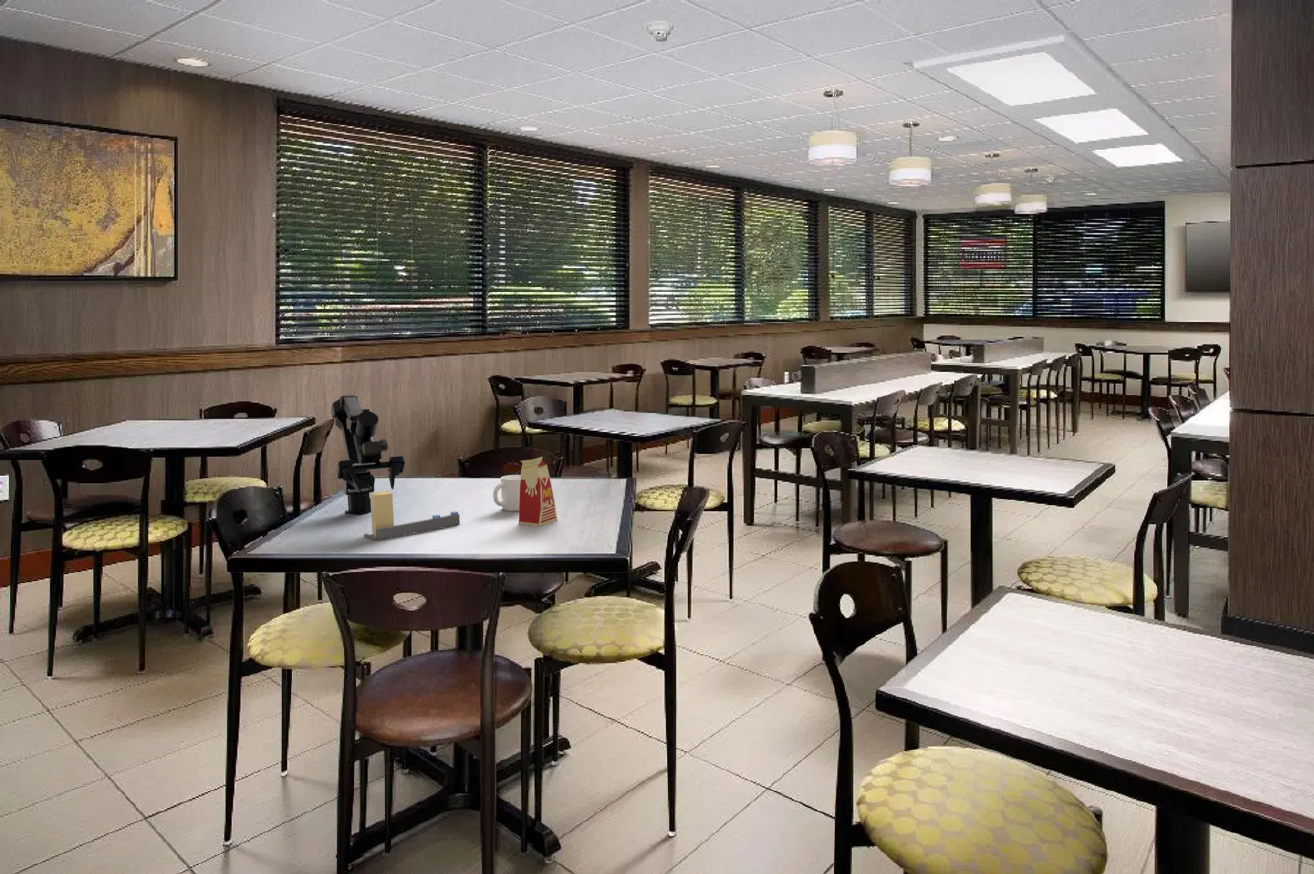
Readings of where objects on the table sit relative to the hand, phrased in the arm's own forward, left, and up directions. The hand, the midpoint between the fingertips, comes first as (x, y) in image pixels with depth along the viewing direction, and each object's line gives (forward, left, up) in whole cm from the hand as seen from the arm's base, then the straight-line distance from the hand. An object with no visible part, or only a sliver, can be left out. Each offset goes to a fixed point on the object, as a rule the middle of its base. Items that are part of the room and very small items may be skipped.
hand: (376, 490), depth 253 cm
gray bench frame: (+9, +4, -12) cm, 16 cm away
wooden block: (+5, -3, -12) cm, 13 cm away
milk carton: (+36, +27, -12) cm, 47 cm away
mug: (+19, +38, -12) cm, 44 cm away
